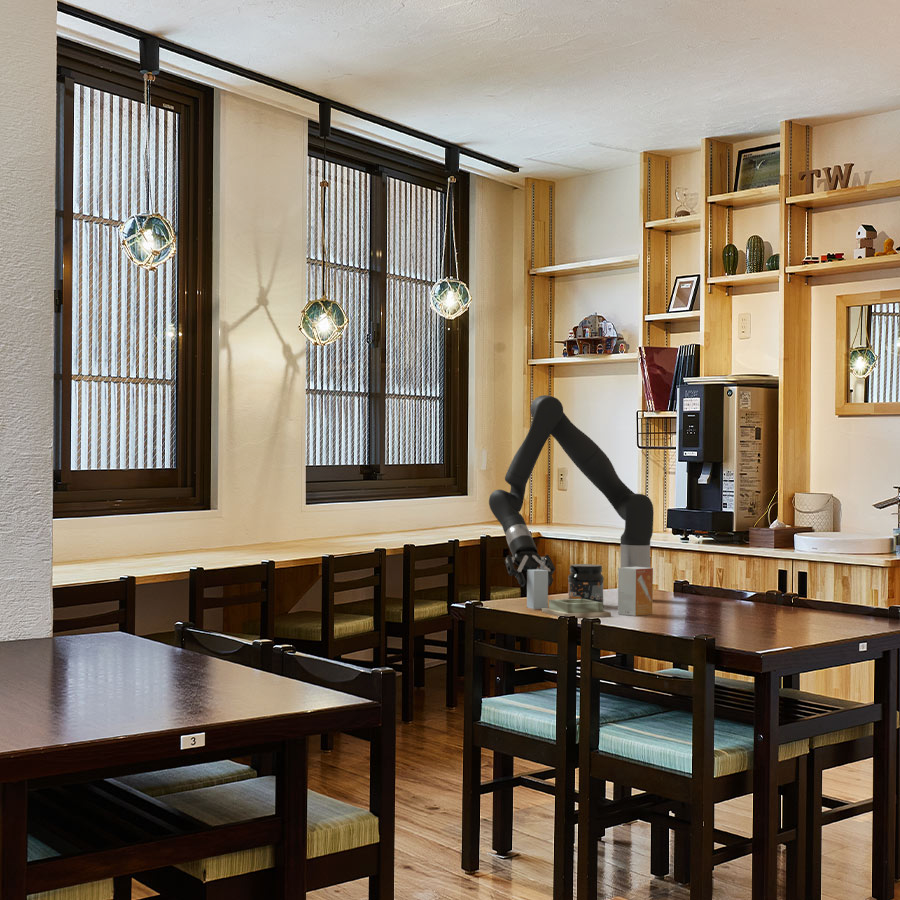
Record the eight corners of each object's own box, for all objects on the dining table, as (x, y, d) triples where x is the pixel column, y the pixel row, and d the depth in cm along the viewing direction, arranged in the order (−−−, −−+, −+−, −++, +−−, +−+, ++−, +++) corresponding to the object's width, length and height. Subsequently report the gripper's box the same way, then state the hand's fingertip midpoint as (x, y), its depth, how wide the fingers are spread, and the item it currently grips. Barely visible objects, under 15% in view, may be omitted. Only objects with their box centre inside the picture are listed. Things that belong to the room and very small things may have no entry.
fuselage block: (540, 607, 319) (541, 569, 319) (547, 608, 315) (548, 570, 315) (526, 607, 317) (527, 569, 318) (533, 609, 313) (534, 570, 314)
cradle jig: (585, 610, 312) (585, 598, 312) (610, 616, 299) (610, 603, 299) (541, 611, 307) (541, 599, 307) (565, 617, 294) (565, 604, 294)
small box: (635, 616, 299) (636, 568, 299) (617, 614, 304) (617, 567, 304) (653, 614, 305) (653, 567, 305) (634, 612, 309) (635, 566, 310)
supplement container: (561, 604, 327) (561, 564, 327) (592, 603, 331) (592, 563, 332) (579, 608, 317) (579, 566, 318) (610, 607, 322) (610, 566, 322)
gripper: (503, 534, 322) (519, 576, 311) (546, 534, 328) (563, 575, 317) (495, 551, 327) (511, 593, 316) (538, 550, 332) (555, 592, 321)
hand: (537, 584), depth 316 cm, fingers open, 8 cm apart
